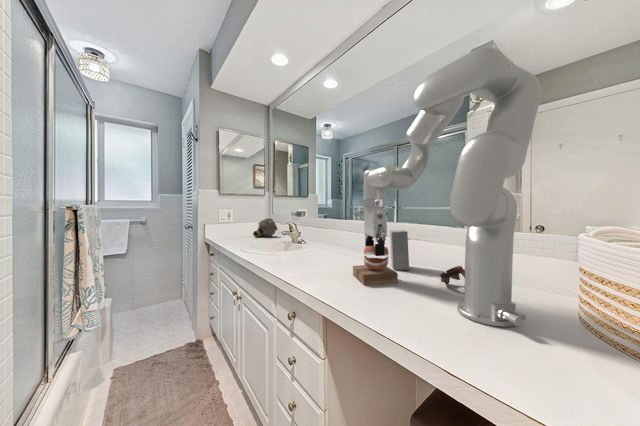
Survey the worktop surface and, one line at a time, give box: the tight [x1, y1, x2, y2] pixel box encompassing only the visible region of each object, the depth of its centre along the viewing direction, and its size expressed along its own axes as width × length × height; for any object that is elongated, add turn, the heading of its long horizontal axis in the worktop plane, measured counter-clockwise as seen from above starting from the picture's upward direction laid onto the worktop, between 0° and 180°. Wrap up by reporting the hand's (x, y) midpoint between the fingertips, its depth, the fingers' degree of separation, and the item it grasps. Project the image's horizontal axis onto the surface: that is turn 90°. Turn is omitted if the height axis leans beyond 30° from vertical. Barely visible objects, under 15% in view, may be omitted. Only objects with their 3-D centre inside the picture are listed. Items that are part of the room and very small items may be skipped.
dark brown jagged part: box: [439, 265, 465, 285], centre depth 80 cm, size 12×10×8 cm
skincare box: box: [389, 229, 410, 272], centre depth 104 cm, size 8×7×16 cm
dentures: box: [363, 245, 389, 269], centre depth 89 cm, size 9×7×8 cm
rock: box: [252, 217, 278, 238], centre depth 200 cm, size 18×14×15 cm
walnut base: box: [352, 264, 399, 287], centre depth 90 cm, size 12×12×4 cm
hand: (374, 252), depth 89 cm, fingers open, 8 cm apart
